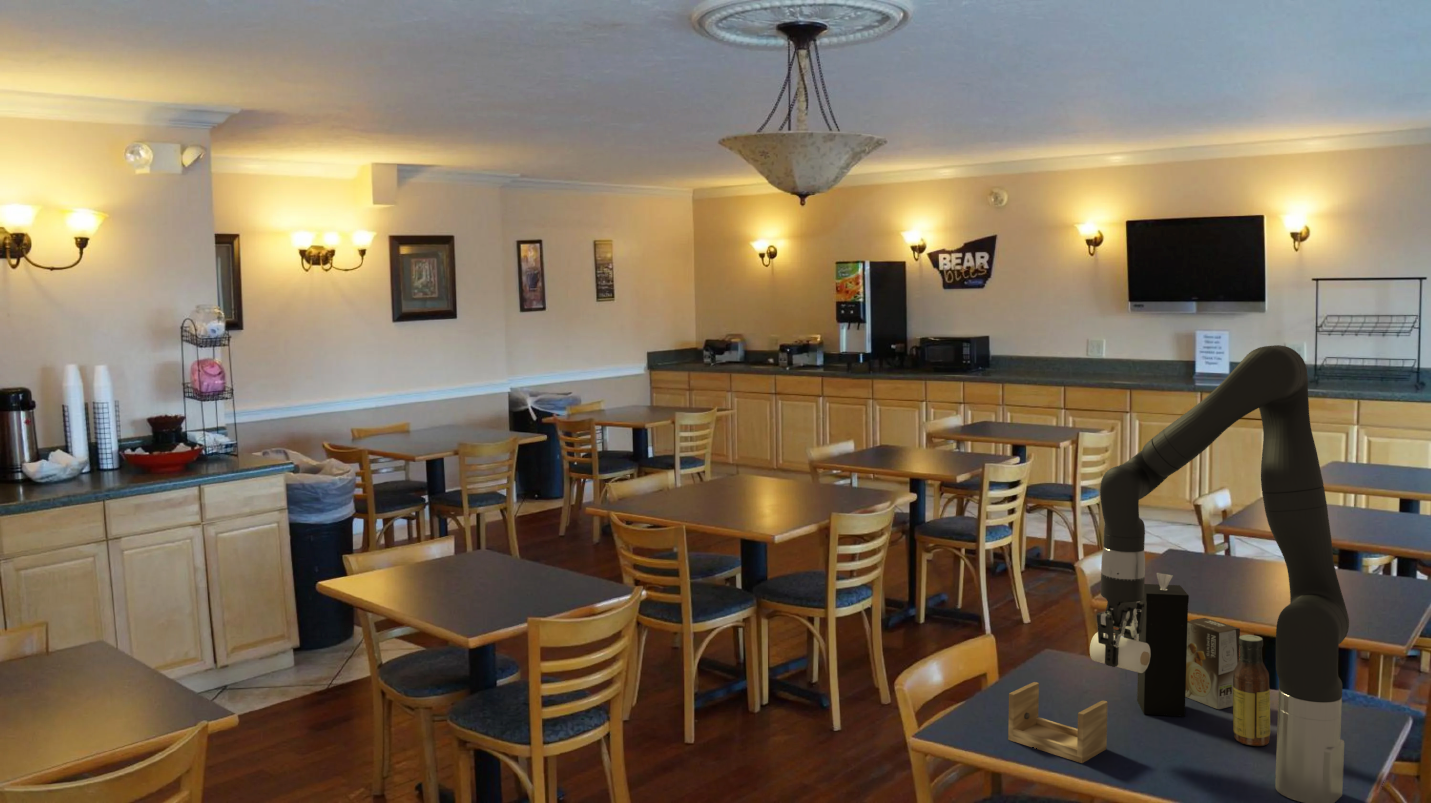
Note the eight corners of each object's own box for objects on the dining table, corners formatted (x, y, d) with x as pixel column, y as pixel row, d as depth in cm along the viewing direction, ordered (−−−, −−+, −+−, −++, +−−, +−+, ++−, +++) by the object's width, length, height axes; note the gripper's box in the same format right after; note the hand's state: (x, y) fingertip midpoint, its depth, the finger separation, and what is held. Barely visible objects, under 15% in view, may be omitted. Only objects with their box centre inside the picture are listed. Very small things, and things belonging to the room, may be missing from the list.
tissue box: (1185, 717, 216) (1189, 578, 214) (1143, 714, 218) (1146, 577, 215) (1176, 703, 224) (1180, 569, 222) (1136, 700, 226) (1139, 567, 223)
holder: (1106, 748, 201) (1107, 701, 201) (1082, 763, 195) (1083, 714, 194) (1033, 726, 212) (1034, 681, 211) (1008, 739, 206) (1008, 693, 205)
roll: (1153, 669, 200) (1154, 640, 199) (1138, 676, 196) (1139, 647, 196) (1101, 656, 207) (1101, 628, 207) (1086, 663, 204) (1087, 634, 203)
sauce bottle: (1265, 736, 207) (1269, 633, 205) (1273, 749, 201) (1277, 643, 199) (1228, 733, 208) (1231, 631, 207) (1234, 745, 202) (1237, 641, 201)
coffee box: (1240, 705, 223) (1242, 628, 221) (1217, 710, 220) (1220, 632, 219) (1202, 690, 231) (1205, 616, 230) (1181, 695, 228) (1183, 620, 227)
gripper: (1123, 583, 193) (1119, 676, 194) (1160, 569, 202) (1157, 658, 204) (1083, 575, 198) (1080, 665, 200) (1122, 562, 208) (1119, 648, 209)
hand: (1119, 661), depth 202 cm, fingers closed on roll, 5 cm apart
